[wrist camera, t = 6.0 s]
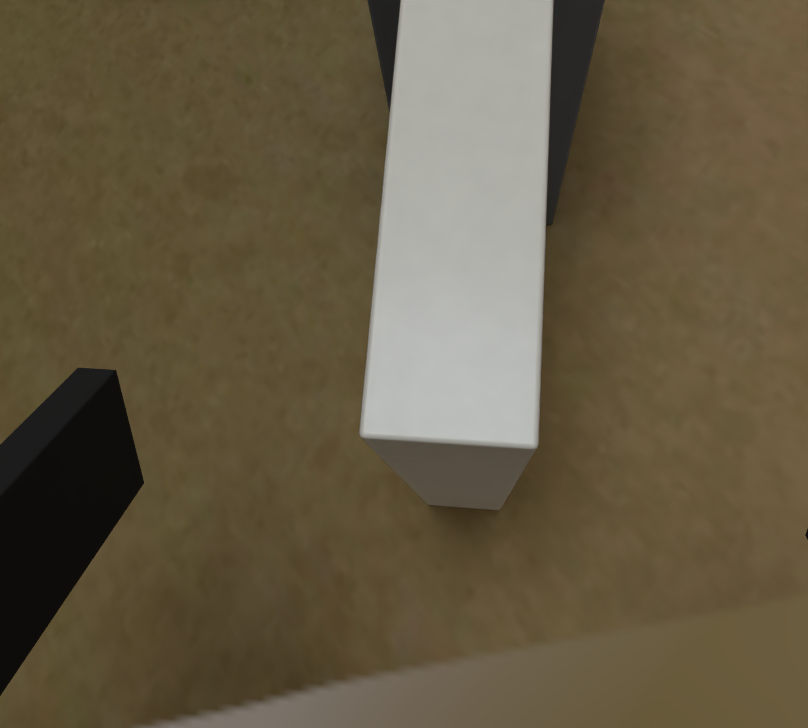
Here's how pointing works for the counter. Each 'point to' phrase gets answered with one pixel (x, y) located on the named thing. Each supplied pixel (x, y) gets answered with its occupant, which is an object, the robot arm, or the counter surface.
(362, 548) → the counter surface
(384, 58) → the grey books
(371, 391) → the cream book
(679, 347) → the counter surface
